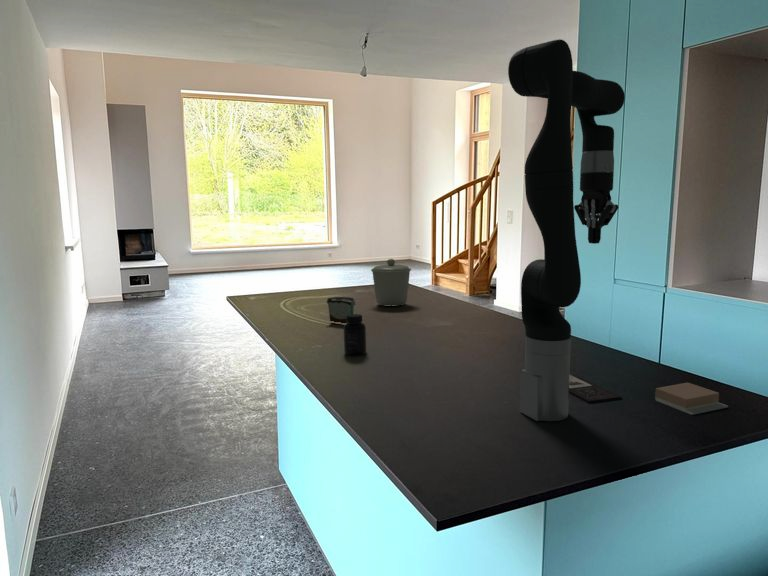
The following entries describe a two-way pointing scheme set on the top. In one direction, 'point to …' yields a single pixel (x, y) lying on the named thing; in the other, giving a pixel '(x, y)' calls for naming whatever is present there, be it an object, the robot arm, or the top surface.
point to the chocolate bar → (589, 390)
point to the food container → (340, 308)
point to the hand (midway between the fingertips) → (594, 243)
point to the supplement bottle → (354, 336)
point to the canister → (391, 283)
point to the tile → (687, 396)
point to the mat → (697, 410)
